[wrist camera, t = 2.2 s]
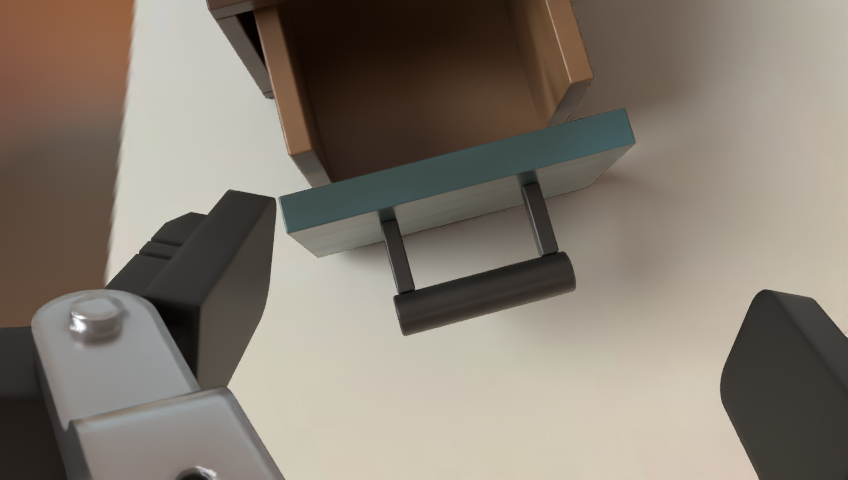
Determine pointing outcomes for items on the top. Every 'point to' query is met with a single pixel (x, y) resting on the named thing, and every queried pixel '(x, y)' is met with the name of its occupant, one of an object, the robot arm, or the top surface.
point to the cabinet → (244, 35)
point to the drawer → (435, 132)
